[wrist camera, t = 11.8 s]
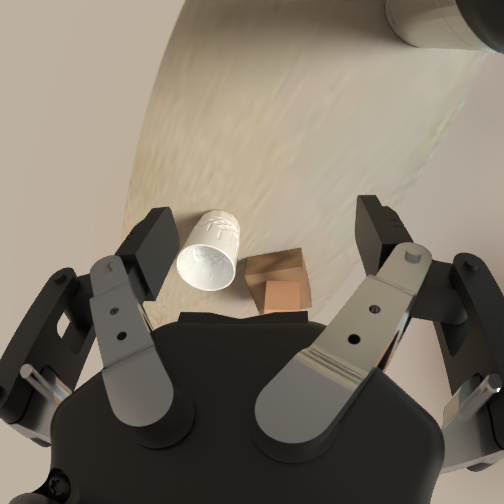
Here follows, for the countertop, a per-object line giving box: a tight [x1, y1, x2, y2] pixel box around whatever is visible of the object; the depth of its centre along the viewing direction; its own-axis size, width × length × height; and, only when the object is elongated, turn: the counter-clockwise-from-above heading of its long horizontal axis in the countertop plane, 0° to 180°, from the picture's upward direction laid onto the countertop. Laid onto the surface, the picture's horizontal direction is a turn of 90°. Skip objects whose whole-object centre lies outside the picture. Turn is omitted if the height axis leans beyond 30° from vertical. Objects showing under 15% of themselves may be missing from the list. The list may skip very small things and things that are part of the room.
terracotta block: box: [264, 281, 300, 314], centre depth 45 cm, size 5×5×6 cm
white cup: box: [176, 210, 240, 291], centre depth 43 cm, size 8×8×10 cm
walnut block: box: [244, 248, 312, 315], centre depth 49 cm, size 9×9×5 cm
